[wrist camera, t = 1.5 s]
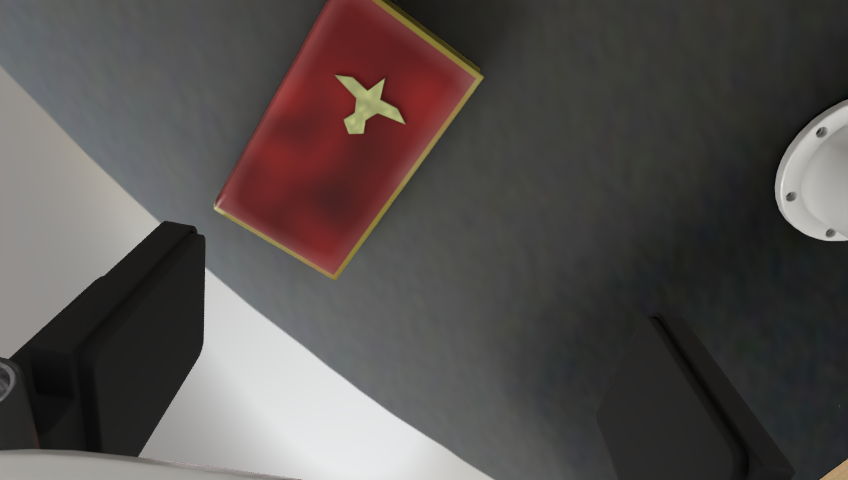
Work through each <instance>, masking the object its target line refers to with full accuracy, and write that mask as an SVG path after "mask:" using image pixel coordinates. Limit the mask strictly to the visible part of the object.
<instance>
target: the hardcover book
mask: <svg viewBox="0 0 848 480" xmlns="http://www.w3.org/2000/svg"><path fill="white" fill-rule="evenodd" d="M479 71H480V68H479V67H477V66H476V65H475V64H473V63H472V62H471V61H469V60H468V59H467V58H465V57H464V56H463V55H461V54H460V53H459V52H457V51H456V50H455V49H453V48H452V47H451V46H449V45H448V44H447V43H446V42H444V41H443V40H442V39H440V38H439V37H438V36H436V35H435V34H434V33H432V32H431V31H430V30H428V29H427V28H426V27H424V26H423V25H422V24H420V23H419V22H418V21H416V20H415V19H414V18H412V17H411V16H410V15H408V14H407V13H406V12H404V11H403V10H402V9H401V8H399V7H398V6H397V5H395V4H394V3H393V2H391V1H390V0H327V2H326V4H325V5H324V7H323V9H322V11H321V13H320V14H319V16H318V18H317V20H316V22H315V23H314V25H313V27H312V29H311V31H310V32H309V34H308V36H307V38H306V39H305V41H304V43H303V45H302V47H301V48H300V50H299V52H298V54H297V56H296V57H295V59H294V61H293V63H292V65H291V66H290V68H289V70H288V72H287V73H286V75H285V77H284V79H283V81H282V82H281V84H280V86H279V88H278V90H277V91H276V93H275V95H274V97H273V99H272V100H271V102H270V104H269V106H268V108H267V109H266V111H265V113H264V115H263V116H262V118H261V120H260V122H259V124H258V125H257V127H256V129H255V131H254V133H253V134H252V136H251V138H250V140H249V142H248V143H247V145H246V147H245V149H244V150H243V152H242V154H241V156H240V158H239V159H238V161H237V163H236V165H235V167H234V168H233V170H232V172H231V174H230V176H229V177H228V179H227V181H226V183H225V185H224V186H223V188H222V190H221V192H220V193H219V195H218V197H217V199H216V201H215V203H214V205H213V209H214V210H215V211H217V212H219V213H220V214H222V215H224V216H226V217H227V218H229V219H231V220H232V221H234V222H236V223H237V224H239V225H241V226H243V227H244V228H246V229H248V230H249V231H251V232H253V233H255V234H256V235H258V236H260V237H261V238H263V239H265V240H266V241H268V242H270V243H272V244H273V245H275V246H277V247H278V248H280V249H282V250H284V251H285V252H287V253H289V254H290V255H292V256H294V257H295V258H297V259H299V260H301V261H302V262H304V263H306V264H307V265H309V266H311V267H313V268H314V269H316V270H318V271H319V272H321V273H323V274H324V275H326V276H328V277H330V278H331V279H333V280H336V279H337V278H338V276H339V275H340V273H341V272H342V271H343V269H344V268H345V267H346V265H347V264H348V263H349V261H350V260H351V258H352V257H353V256H354V254H355V253H356V252H357V250H358V249H359V247H360V246H361V245H362V243H363V242H364V241H365V239H366V238H367V237H368V235H369V234H370V232H371V231H372V230H373V228H374V227H375V226H376V224H377V223H378V221H379V220H380V219H381V217H382V216H383V215H384V213H385V212H386V211H387V209H388V208H389V206H390V205H391V204H392V202H393V201H394V200H395V198H396V197H397V196H398V194H399V193H400V191H401V190H402V189H403V187H404V186H405V185H406V183H407V182H408V180H409V179H410V178H411V176H412V175H413V174H414V172H415V171H416V170H417V168H418V167H419V165H420V164H421V163H422V161H423V160H424V159H425V157H426V156H427V154H428V153H429V152H430V150H431V149H432V148H433V146H434V145H435V144H436V142H437V141H438V139H439V138H440V137H441V135H442V134H443V133H444V131H445V130H446V128H447V127H448V126H449V124H450V123H451V122H452V120H453V119H454V118H455V116H456V115H457V113H458V112H459V111H460V109H461V108H462V107H463V105H464V104H465V102H466V101H467V100H468V98H469V97H470V96H471V94H472V93H473V92H474V90H475V89H476V87H477V86H478V85H479V83H480V82H481V81H482V79H483V78H484V76H482V75H481V74H480V73H478V72H479Z"/></svg>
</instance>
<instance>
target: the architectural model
mask: <svg viewBox="0 0 848 480" xmlns="http://www.w3.org/2000/svg"><path fill="white" fill-rule="evenodd" d="M820 480H848V459H847V460H846V461H844V462H843V463H842V464H840V465H839V466H838V467H836V468H835V469H833V470H832V471H831V472H829V473H828V474H827V475H825V476H824V477H823V478H821V479H820Z"/></svg>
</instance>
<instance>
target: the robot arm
mask: <svg viewBox="0 0 848 480" xmlns="http://www.w3.org/2000/svg"><path fill="white" fill-rule="evenodd" d="M775 195H776V201H777V204H778V207H779V210H780V211H781V213H782V215H783V216H784V218H785V219H786V220H787V221H788V222H789V223H790V224H791V225H793V226H794V227H795V228H797V229H798V230H800V231H801V232H803V233H804V234H806V235H809V236H811V237H814V238H816V239H821V240H826V241H845V240H848V100H845V101H842V102H840V103H838V104H837V105H835V106H833V107H831V108H829V109H827V110H826V111H824V112H823V113H821V114H820V115H819V116H817V117H816V118H815V119H813V120H812V121H811V122H810V123H809V124H808V125H807V126H806V127H805V128H804V129H803V130H801V131H800V132H799V134H798V135H797V136H796V138H795V139H794V140H793V141H792V143H791V144H790V145H789V147H788V149H787V150H786V152H785V154H784V156H783V158H782V159H781V162H780V165H779V168H778V171H777V175H776V182H775ZM204 290H205V237H204V235H200V234H197V230H196V228H195V226H190V225H185V224H180V223H174V222H169V221H164V222H162V223H161V224H160V225H159V226H158V227H157V228H156V229H155V230H154V231H152V232H151V233H150V234H149V235H148V236H147V237H146V238H145V239H144V240H143V241H142V242H141V243H139V244H138V245H137V246H136V247H135V248H134V249H133V250H132V251H131V252H130V253H129V254H127V256H125V257H124V258H123V259H122V260H121V261H120V262H119V263H118V264H117V265H115V266H114V267H113V268H112V269H111V270H110V271H109V272H108V273H107V274H106V275H105V276H102V277H100V278H98V279H97V280H95V281H94V282H93V283H92V284H91V285H90V286H89V287H87V288H86V289H85V290H84V291H83V292H82V293H81V294H80V295H79V296H78V297H76V298H75V299H74V300H73V301H72V302H71V303H70V304H69V305H68V306H67V307H65V308H64V309H63V310H62V311H61V312H60V313H59V314H58V315H57V316H56V317H54V318H53V319H52V320H51V321H50V322H49V323H48V324H47V325H46V326H45V327H43V328H42V329H41V330H40V331H39V332H38V333H37V334H36V335H35V336H34V337H33V338H32V339H30V340H29V341H28V342H27V343H26V344H25V345H24V346H22V347H21V348H20V349H19V350H18V351H17V352H16V353H15V354H14V355H13V356H12V357H10V358H9V359H5V358H1V357H0V480H299V479H293V478H287V477H280V476H273V475H266V474H259V473H252V472H244V471H238V470H231V469H224V468H217V467H210V466H202V465H195V464H188V463H181V462H173V461H166V460H159V459H149V458H141V457H138V456H139V454H140V452H141V451H142V449H143V448H144V446H145V444H146V443H147V441H148V439H149V438H150V436H151V435H152V433H153V431H154V429H155V428H156V426H157V425H158V423H159V421H160V420H161V418H162V417H163V415H164V413H165V411H166V410H167V408H168V407H169V405H170V403H171V402H172V400H173V399H174V397H175V395H176V394H177V392H178V390H179V389H180V387H181V385H182V384H183V382H184V380H185V379H186V377H187V375H188V374H189V372H190V371H191V369H192V367H193V366H194V364H195V362H196V361H197V359H198V357H199V355H200V353H201V350H202V346H203V339H204ZM597 422H598V426H599V428H600V431H601V434H602V437H603V439H604V442H605V445H606V447H607V450H608V453H609V456H610V458H611V461H612V464H613V466H614V469H615V472H616V475H617V477H618V480H791V478H792V477H793V476H794V475H795V473H796V471H795V470H794V468H793V467H792V466H791V464H790V463H789V462H788V460H787V459H786V458H785V456H784V455H783V453H782V452H781V451H780V449H779V448H778V447H777V445H776V444H775V442H774V441H773V440H772V438H771V437H770V436H769V434H768V433H767V432H766V430H765V429H764V427H763V426H762V425H761V423H760V422H759V421H758V419H757V418H756V416H755V415H754V414H753V412H752V411H751V410H750V408H749V407H748V406H747V404H746V403H745V401H744V400H743V399H742V397H741V396H740V395H739V393H738V392H737V391H736V389H735V388H734V386H733V385H732V384H731V382H730V381H729V380H728V378H727V377H726V375H725V374H724V373H723V371H722V370H721V369H720V367H719V366H718V365H717V363H716V362H715V360H714V359H713V358H712V356H711V355H710V354H709V352H708V351H707V349H706V348H705V347H704V345H703V344H702V343H701V341H700V340H699V339H698V337H697V336H696V334H695V333H694V332H693V330H692V329H691V328H690V326H689V325H688V323H687V322H686V321H685V320H684V319H683V318H682V317H679V316H674V315H668V314H663V313H658V312H654V313H652V314H651V315H649V317H644V318H642V319H641V320H640V322H639V324H638V326H637V328H636V330H635V332H634V334H633V336H632V339H631V341H630V343H629V345H628V347H627V349H626V351H625V353H624V355H623V357H622V359H621V361H620V364H619V366H618V368H617V370H616V372H615V374H614V376H613V378H612V380H611V382H610V384H609V386H608V389H607V391H606V393H605V395H604V397H603V399H602V401H601V403H600V405H599V408H598V412H597Z"/></svg>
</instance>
